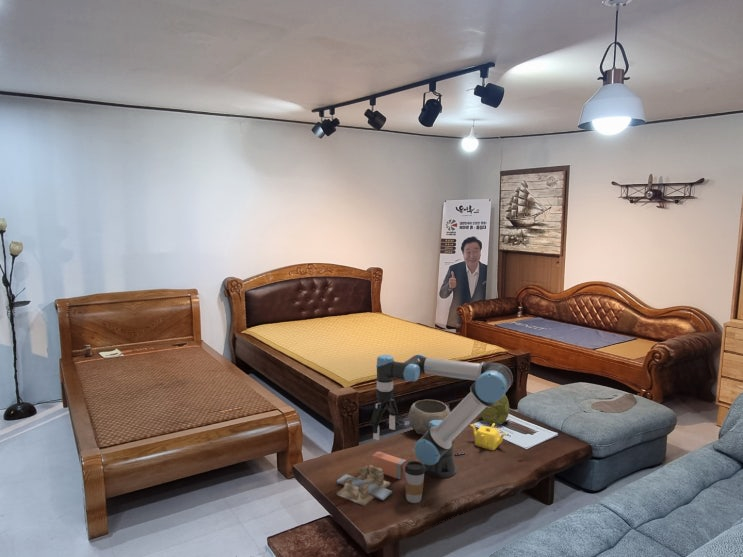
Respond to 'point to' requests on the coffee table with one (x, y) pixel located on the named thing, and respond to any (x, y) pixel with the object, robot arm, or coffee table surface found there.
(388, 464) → the reddish-brown block
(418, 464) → the coffee cup
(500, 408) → the decorative sculpture
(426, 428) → the bowl
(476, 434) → the teapot
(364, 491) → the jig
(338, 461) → the coffee table surface
